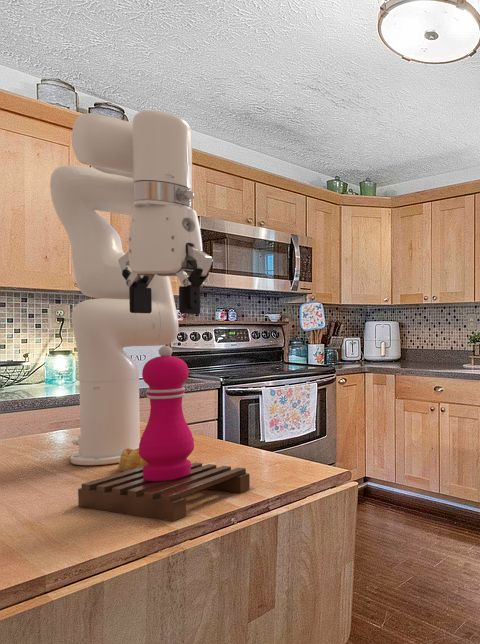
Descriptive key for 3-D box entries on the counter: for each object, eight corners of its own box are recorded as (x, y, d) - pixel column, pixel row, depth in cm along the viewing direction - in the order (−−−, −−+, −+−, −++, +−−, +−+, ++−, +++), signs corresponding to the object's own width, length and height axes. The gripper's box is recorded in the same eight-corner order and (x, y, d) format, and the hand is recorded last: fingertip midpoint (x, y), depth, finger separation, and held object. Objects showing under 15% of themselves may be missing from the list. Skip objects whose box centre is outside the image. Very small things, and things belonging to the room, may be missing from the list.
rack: (78, 506, 72) (77, 483, 72) (164, 478, 86) (164, 459, 86) (173, 521, 67) (173, 496, 67) (249, 489, 80) (249, 468, 80)
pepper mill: (168, 484, 72) (166, 347, 71) (126, 480, 74) (124, 346, 73) (205, 470, 79) (203, 345, 78) (166, 467, 81) (164, 344, 80)
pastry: (182, 460, 97) (182, 440, 97) (177, 469, 91) (177, 449, 91) (125, 465, 93) (124, 445, 93) (115, 475, 87) (115, 454, 87)
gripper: (229, 202, 76) (229, 314, 77) (143, 208, 81) (145, 313, 82) (187, 190, 69) (188, 313, 70) (96, 197, 74) (98, 312, 75)
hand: (164, 313), depth 76 cm, fingers open, 9 cm apart
